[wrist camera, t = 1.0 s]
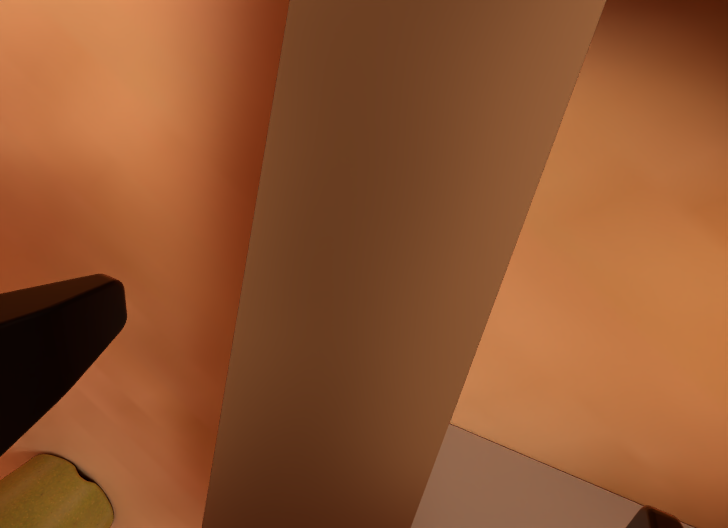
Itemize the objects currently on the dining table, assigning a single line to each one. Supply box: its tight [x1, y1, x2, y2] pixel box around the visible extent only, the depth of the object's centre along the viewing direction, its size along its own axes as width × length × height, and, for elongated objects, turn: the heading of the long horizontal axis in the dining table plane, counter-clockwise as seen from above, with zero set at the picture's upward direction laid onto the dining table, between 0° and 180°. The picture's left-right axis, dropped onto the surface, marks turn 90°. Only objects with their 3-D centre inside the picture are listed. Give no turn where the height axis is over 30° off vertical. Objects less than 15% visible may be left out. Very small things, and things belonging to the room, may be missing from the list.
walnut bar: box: [202, 0, 606, 528], centre depth 9 cm, size 4×28×3 cm, turn 171°
